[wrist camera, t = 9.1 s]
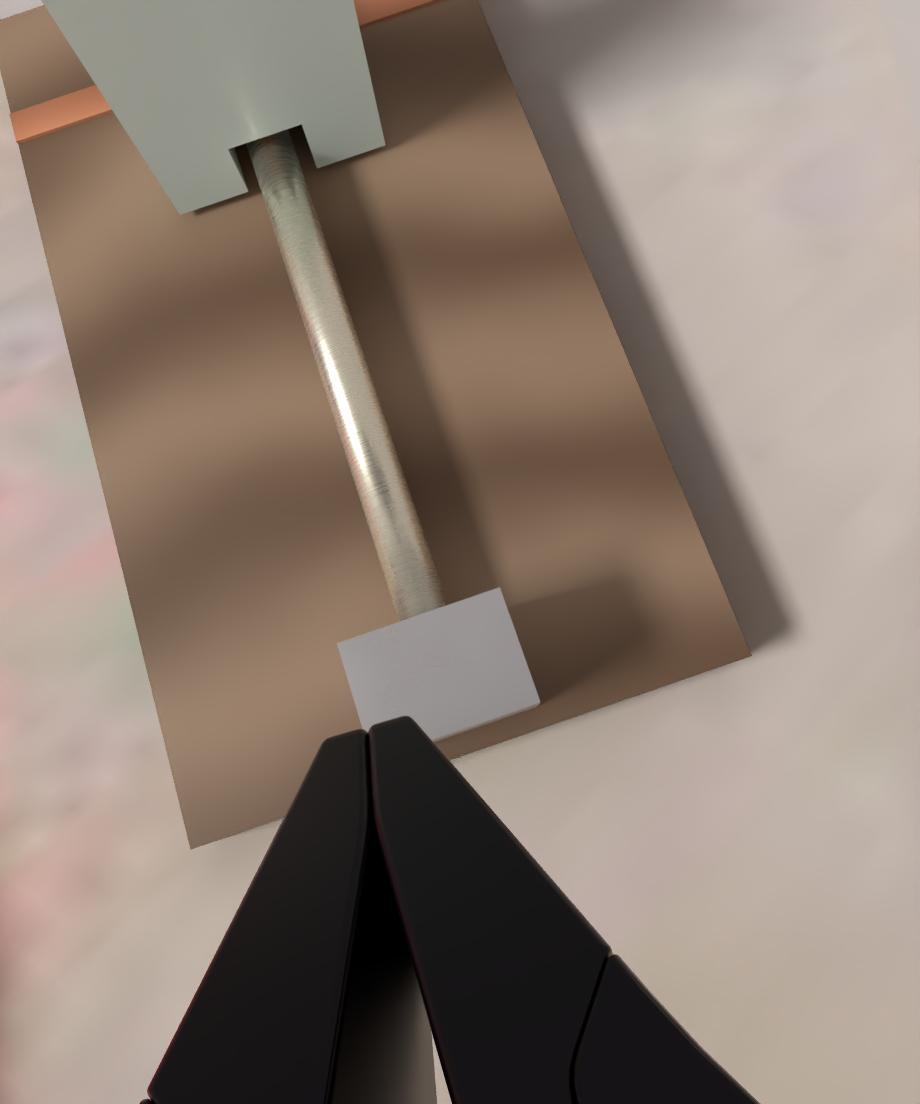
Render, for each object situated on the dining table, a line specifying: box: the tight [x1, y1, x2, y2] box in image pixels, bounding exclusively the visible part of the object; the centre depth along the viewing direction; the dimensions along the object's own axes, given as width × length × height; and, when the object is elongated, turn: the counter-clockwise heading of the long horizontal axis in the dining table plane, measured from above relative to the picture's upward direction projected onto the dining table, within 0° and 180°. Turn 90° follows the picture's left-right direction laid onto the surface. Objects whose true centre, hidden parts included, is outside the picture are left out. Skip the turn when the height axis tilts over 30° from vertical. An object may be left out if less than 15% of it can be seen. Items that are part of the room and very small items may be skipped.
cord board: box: [0, 0, 752, 849], centre depth 23 cm, size 25×14×2 cm, turn 19°
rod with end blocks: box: [246, 129, 540, 742], centre depth 20 cm, size 24×5×6 cm, turn 19°
